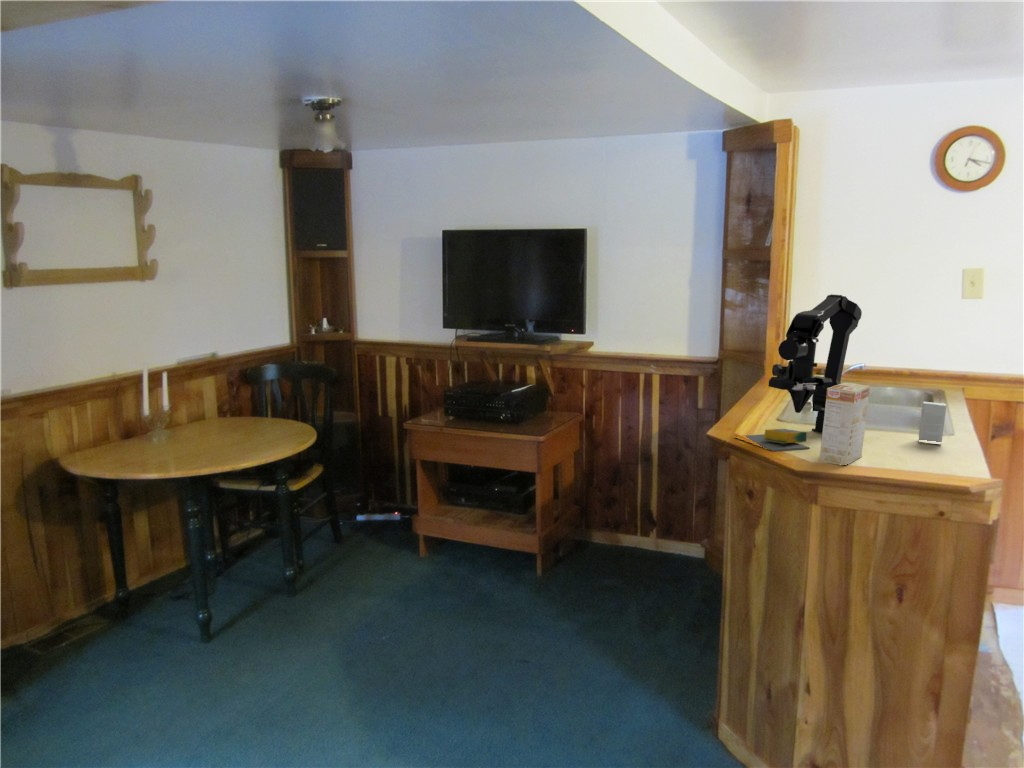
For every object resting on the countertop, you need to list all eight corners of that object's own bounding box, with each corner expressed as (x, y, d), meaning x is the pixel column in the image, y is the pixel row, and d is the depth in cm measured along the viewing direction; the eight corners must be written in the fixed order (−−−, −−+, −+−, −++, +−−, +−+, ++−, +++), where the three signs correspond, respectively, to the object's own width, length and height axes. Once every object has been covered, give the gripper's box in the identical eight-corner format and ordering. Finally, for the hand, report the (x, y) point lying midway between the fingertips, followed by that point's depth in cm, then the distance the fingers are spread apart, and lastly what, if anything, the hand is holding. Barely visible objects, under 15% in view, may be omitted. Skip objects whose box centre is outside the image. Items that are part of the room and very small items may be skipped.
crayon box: (807, 431, 217) (784, 433, 210) (806, 442, 218) (783, 444, 210) (783, 428, 223) (761, 429, 216) (783, 438, 223) (760, 440, 216)
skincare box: (940, 443, 229) (945, 403, 227) (941, 445, 226) (947, 405, 224) (917, 440, 232) (922, 401, 230) (918, 442, 228) (923, 403, 226)
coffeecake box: (835, 451, 211) (843, 381, 208) (862, 457, 207) (871, 385, 204) (817, 461, 200) (826, 387, 197) (846, 466, 195) (855, 391, 192)
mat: (769, 435, 227) (769, 434, 227) (809, 449, 213) (809, 447, 213) (733, 437, 222) (733, 436, 222) (772, 451, 208) (772, 449, 208)
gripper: (807, 354, 228) (802, 406, 231) (758, 354, 221) (752, 408, 223) (837, 359, 218) (830, 413, 221) (785, 360, 211) (779, 415, 213)
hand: (797, 412), depth 220 cm, fingers closed
